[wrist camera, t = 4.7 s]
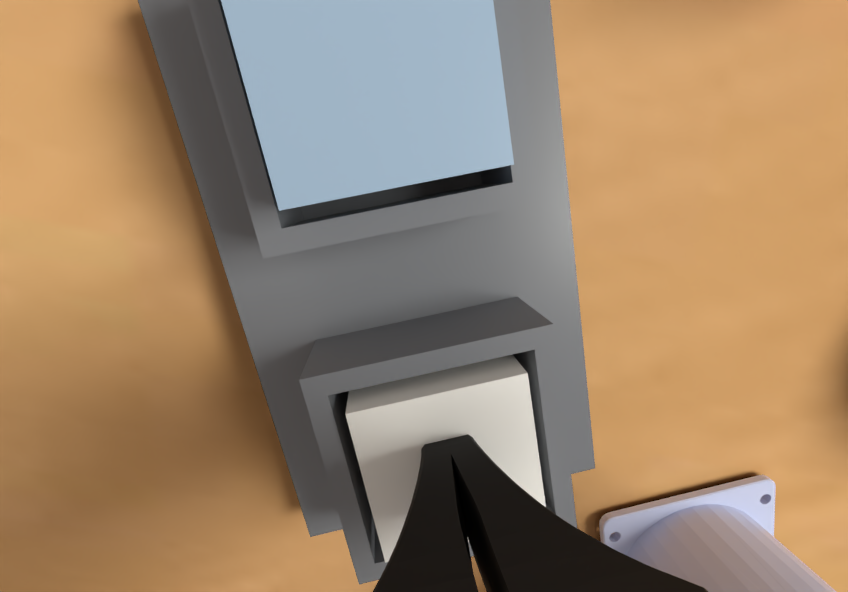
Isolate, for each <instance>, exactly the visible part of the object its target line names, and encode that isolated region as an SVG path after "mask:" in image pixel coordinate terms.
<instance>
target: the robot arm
mask: <svg viewBox="0 0 848 592" xmlns="http://www.w3.org/2000/svg"><path fill="white" fill-rule="evenodd" d="M775 488H776V486H775V483H774V481H773V480H771V479H770V478H769V477H767V476H765V475H757V476H753V477H749V478H745V479H741V480H737V481H733V482H729V483H725V484H721V485H717V486H713V487H709V488H705V489H701V490H697V491H693V492H689V493H685V494H681V495H677V496H673V497H668V498H664V499H660V500H656V501H652V502H648V503H644V504H640V505H636V506H632V507H628V508H624V509H620V510H616V511H612V512H608V513H606V514H604V515H603V516H602V517H601V519H600V521H599V528H600V539H601V542H600V541H598V540H596V539H595V538H593V537H591V536H589V535H587V534H586V533H584V532H582V531H580V530H579V529H577V528H576V527H574V526H572V525H571V524H569V523H568V522H566V521H565V520H563V519H562V518H560V517H559V516H557V515H556V514H555V513H553V512H552V511H550V510H549V509H547V508H546V507H545V506H543V505H542V504H541V503H539V502H538V501H537V500H536V499H534V498H533V497H532V496H531V495H529V494H528V493H527V492H526V491H525V490H523V489H522V488H521V487H520V486H519V485H518V484H516V483H515V482H514V481H513V480H512V479H511V478H510V477H509V476H508V475H507V474H506V473H505V472H504V471H502V470H501V469H500V468H499V467H498V466H497V465H496V464H495V463H494V462H493V461H492V460H491V459H490V457H489V456H488V455H487V454H486V453H485V452H484V451H483V450H482V449H481V447H480V446H479V445H478V444H477V443H476V441H475V440H474V439H473V437H471V436H470V435H468V434H467V435H463V436H459V437H455V438H450V439H446V440H442V441H437V442H433V443H429V444H425V445H424V446H423V447H422V449H421V462H420V468H419V473H418V478H417V482H416V486H415V490H414V494H413V498H412V501H411V505H410V508H409V511H408V513H407V516H406V519H405V522H404V525H403V528H402V531H401V533H400V536H399V538H398V541H397V543H396V546H395V548H394V550H393V552H392V555H391V557H390V559H389V561H388V563H387V565H386V567H385V569H384V571H383V573H382V575H381V577H380V579H379V581H378V583H377V585H376V587H375V589H374V590H373V592H478V590H477V586H476V582H475V578H474V575H473V569H472V563H471V556H470V550H469V543H470V546H471V549H472V551H473V554H474V557H475V560H476V563H477V566H478V568H479V571H480V574H481V577H482V580H483V583H484V585H485V588H486V591H487V592H836V591H835V590H834V589H833V588H832V587H831V586H830V585H828V584H827V583H826V582H825V581H824V580H823V579H822V578H820V577H819V576H818V575H817V574H816V573H815V572H814V571H812V570H811V569H810V568H809V567H808V566H807V565H806V564H804V563H803V562H802V561H801V560H800V559H799V558H797V557H796V556H795V555H794V554H793V553H792V552H791V551H789V550H788V549H787V548H786V547H785V546H784V545H783V544H781V543H780V542H779V541H778V540H777V539H776V538H775V537H774V516H775ZM612 533H613V534H612ZM468 540H469V543H468Z"/></svg>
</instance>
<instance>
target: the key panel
mask: <svg viewBox="0 0 848 592" xmlns="http://www.w3.org/2000/svg"><path fill="white" fill-rule="evenodd" d="M138 2H139V5H140V8H141V11H142V15H143V18H144V21H145V24H146V27H147V30H148V33H149V36H150V39H151V43H152V46H153V49H154V52H155V55H156V58H157V61H158V64H159V67H160V71H161V74H162V77H163V80H164V83H165V86H166V89H167V92H168V95H169V99H170V102H171V105H172V108H173V111H174V114H175V117H176V120H177V123H178V127H179V130H180V133H181V136H182V139H183V142H184V145H185V148H186V151H187V154H188V158H189V161H190V164H191V167H192V170H193V173H194V176H195V179H196V182H197V186H198V189H199V192H200V195H201V198H202V201H203V204H204V207H205V210H206V214H207V217H208V220H209V223H210V226H211V229H212V232H213V235H214V238H215V242H216V245H217V248H218V251H219V254H220V257H221V260H222V263H223V266H224V270H225V273H226V276H227V279H228V282H229V285H230V288H231V291H232V294H233V298H234V301H235V304H236V307H237V310H238V313H239V316H240V319H241V322H242V325H243V329H244V332H245V335H246V338H247V341H248V344H249V347H250V350H251V353H252V357H253V360H254V363H255V366H256V369H257V372H258V375H259V378H260V381H261V385H262V388H263V391H264V394H265V397H266V400H267V403H268V406H269V409H270V413H271V416H272V419H273V422H274V425H275V428H276V431H277V434H278V437H279V441H280V444H281V447H282V450H283V453H284V456H285V459H286V462H287V465H288V468H289V472H290V475H291V478H292V481H293V484H294V487H295V490H296V493H297V496H298V500H299V503H300V506H301V509H302V512H303V515H304V518H305V521H306V524H307V528H308V531H309V534H310V537H312V536H316V535H320V534H324V533H328V532H333V531H337V530H341V529H343V531H344V534H345V538H346V541H347V545H348V548H349V551H350V555H351V558H352V562H353V565H354V568H355V572H356V575H357V579H358V582H359V584H363V583H367V582H371V581H375V580H379V579H380V577H381V575H382V573H383V571H384V569H385V567H386V565H387V563H388V562H386V563H385V560H384V556H383V552H382V549H381V545H380V541H379V537H378V534H377V530H376V526H375V523H374V519H373V515H372V511H371V508H370V504H369V500H368V497H367V493H366V489H365V485H364V482H363V478H362V474H361V471H360V467H359V463H358V459H357V456H356V452H355V448H354V445H353V441H352V437H351V433H350V430H349V426H348V422H347V419H346V415H345V413H346V407H347V400H348V393H349V391H351V390H355V389H360V388H364V387H369V386H373V385H378V384H382V383H387V382H391V381H396V380H400V379H405V378H409V377H414V376H418V375H423V374H427V373H431V372H436V371H440V370H445V369H449V368H454V367H458V366H463V365H467V364H472V363H476V362H481V361H485V360H490V359H494V358H499V357H503V356H508V355H513V356H514V357H515V358H516V359H517V361H518V362H519V363H520V364H521V366H522V367H523V368H524V369H525V370H526V372H527V373H528V379H529V386H530V393H531V401H532V408H533V415H534V423H535V430H536V437H537V445H538V452H539V459H540V467H541V474H542V481H543V489H544V496H545V503H546V508H547V509H549V510H550V511H552V512H553V513H555V514H556V515H557V516H559V517H560V518H562V519H563V520H565V521H566V522H568V523H569V524H571V525H572V526H574V527H576V528H577V523H576V514H575V505H574V497H573V488H572V479H571V474H573V473H577V472H582V471H586V470H590V469H594V468H595V462H594V451H593V441H592V431H591V420H590V410H589V400H588V389H587V379H586V369H585V358H584V348H583V337H582V327H581V317H580V306H579V296H578V286H577V275H576V265H575V254H574V244H573V234H572V223H571V213H570V203H569V192H568V182H567V172H566V161H565V151H564V140H563V130H562V120H561V109H560V99H559V89H558V78H557V68H556V58H555V47H554V37H553V26H552V16H551V6H550V0H493V3H494V10H495V18H496V26H497V34H498V42H499V50H500V58H501V65H502V73H503V81H504V89H505V97H506V105H507V112H508V120H509V128H510V136H511V144H512V152H513V159H514V165H509V166H504V167H499V168H494V169H489V170H485V171H480V172H475V173H470V174H464V175H459V176H454V177H449V178H444V179H439V180H434V181H429V182H424V183H419V184H414V185H409V186H404V187H398V188H393V189H388V190H383V191H378V192H373V193H368V194H363V195H358V196H353V197H348V198H343V199H338V200H333V201H327V202H322V203H317V204H312V205H307V206H302V207H297V208H291V209H286V210H280V211H279V209H278V205H277V201H276V198H275V194H274V191H273V187H272V183H271V180H270V176H269V172H268V169H267V165H266V162H265V158H264V154H263V151H262V147H261V144H260V140H259V136H258V133H257V129H256V125H255V122H254V118H253V115H252V111H251V107H250V104H249V100H248V96H247V93H246V89H245V86H244V82H243V78H242V75H241V71H240V68H239V64H238V60H237V57H236V53H235V49H234V46H233V42H232V39H231V35H230V31H229V28H228V24H227V20H226V17H225V13H224V10H223V6H222V2H221V0H138ZM468 543H469V542H468ZM469 550H470V556H474V554H473V551H472V549H471V546H470V543H469Z"/></svg>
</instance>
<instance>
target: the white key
mask: <svg viewBox="0 0 848 592" xmlns="http://www.w3.org/2000/svg"><path fill="white" fill-rule="evenodd" d="M345 415H346V419H347V422H348V426H349V430H350V433H351V437H352V441H353V445H354V448H355V452H356V456H357V459H358V463H359V467H360V471H361V474H362V478H363V482H364V485H365V489H366V493H367V497H368V500H369V504H370V508H371V511H372V515H373V519H374V523H375V526H376V530H377V534H378V537H379V541H380V545H381V549H382V552H383V556H384V560H385V563H386V562H388V561H389V559H390V557H391V555H392V552H393V550H394V548H395V546H396V543H397V541H398V538H399V536H400V533H401V531H402V528H403V525H404V522H405V519H406V516H407V513H408V511H409V508H410V505H411V501H412V498H413V494H414V490H415V486H416V482H417V478H418V473H419V468H420V462H421V449H422V447H423V446H424V445H425V444H429V443H433V442H437V441H442V440H446V439H450V438H455V437H459V436H463V435H467V434H468V435H470V436H471V437H473V439H474V440H475V441H476V443H477V444H478V445H479V446H480V447H481V449H482V450H483V451H484V452H485V453H486V454H487V455H488V456H489V457H490V459H491V460H492V461H493V462H494V463H495V464H496V465H497V466H498V467H499V468H500V469H501V470H502V471H504V472H505V473H506V474H507V475H508V476H509V477H510V478H511V479H512V480H513V481H514V482H515V483H516V484H518V485H519V486H520V487H521V488H522V489H523V490H525V491H526V492H527V493H528V494H529V495H531V496H532V497H533V498H534V499H536V500H537V501H538V502H539V503H541V504H542V505H543V506H545V507H546V503H545V496H544V489H543V481H542V474H541V467H540V459H539V452H538V445H537V437H536V430H535V423H534V415H533V408H532V401H531V393H530V386H529V379H528V373H527V372H526V370H525V369H524V368H523V367H522V366H521V364H520V363H519V362H518V361H517V359H516V358H515V357H514V356H513V355H508V356H503V357H499V358H494V359H490V360H485V361H481V362H476V363H472V364H467V365H463V366H458V367H454V368H449V369H445V370H440V371H436V372H431V373H427V374H423V375H418V376H414V377H409V378H405V379H400V380H396V381H391V382H387V383H382V384H378V385H373V386H369V387H364V388H360V389H355V390H351V391H349V393H348V400H347V407H346V413H345ZM468 542H469V540H468Z"/></svg>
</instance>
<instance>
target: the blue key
mask: <svg viewBox="0 0 848 592" xmlns="http://www.w3.org/2000/svg"><path fill="white" fill-rule="evenodd" d="M221 2H222V6H223V10H224V13H225V17H226V20H227V24H228V28H229V31H230V35H231V39H232V42H233V46H234V49H235V53H236V57H237V60H238V64H239V68H240V71H241V75H242V78H243V82H244V86H245V89H246V93H247V96H248V100H249V104H250V107H251V111H252V115H253V118H254V122H255V125H256V129H257V133H258V136H259V140H260V144H261V147H262V151H263V154H264V158H265V162H266V165H267V169H268V172H269V176H270V180H271V183H272V187H273V191H274V194H275V198H276V201H277V205H278V209H279V211H280V210H286V209H291V208H297V207H302V206H307V205H312V204H317V203H322V202H327V201H333V200H338V199H343V198H348V197H353V196H358V195H363V194H368V193H373V192H378V191H383V190H388V189H393V188H398V187H404V186H409V185H414V184H419V183H424V182H429V181H434V180H439V179H444V178H449V177H454V176H459V175H464V174H470V173H475V172H480V171H485V170H489V169H494V168H499V167H504V166H509V165H514V159H513V152H512V144H511V136H510V128H509V120H508V112H507V105H506V97H505V89H504V81H503V73H502V65H501V58H500V50H499V42H498V34H497V26H496V18H495V10H494V3H493V0H221Z"/></svg>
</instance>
